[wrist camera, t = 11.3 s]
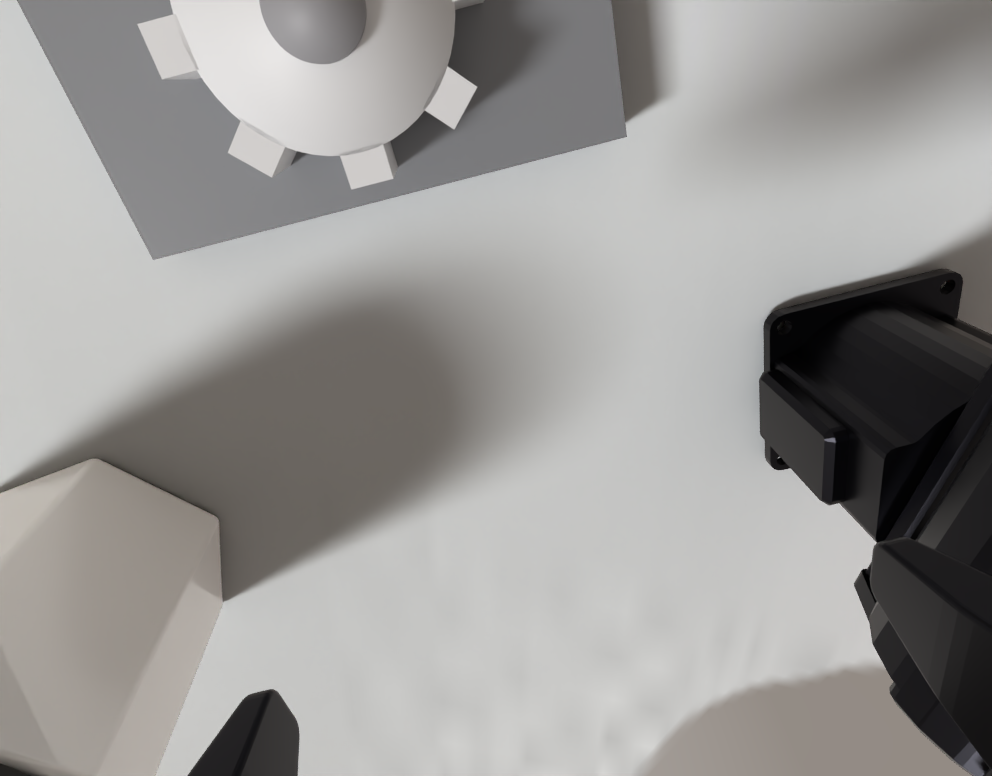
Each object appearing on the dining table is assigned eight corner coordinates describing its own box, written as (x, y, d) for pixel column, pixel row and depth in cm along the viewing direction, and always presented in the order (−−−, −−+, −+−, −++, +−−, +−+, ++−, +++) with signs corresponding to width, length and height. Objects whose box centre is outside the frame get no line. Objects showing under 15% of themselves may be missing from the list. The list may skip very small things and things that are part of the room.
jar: (151, 426, 20) (-172, 830, 9) (276, 587, 24) (149, 1002, 13) (-79, 513, 20) (-623, 981, 10) (79, 655, 24) (-193, 1102, 14)
